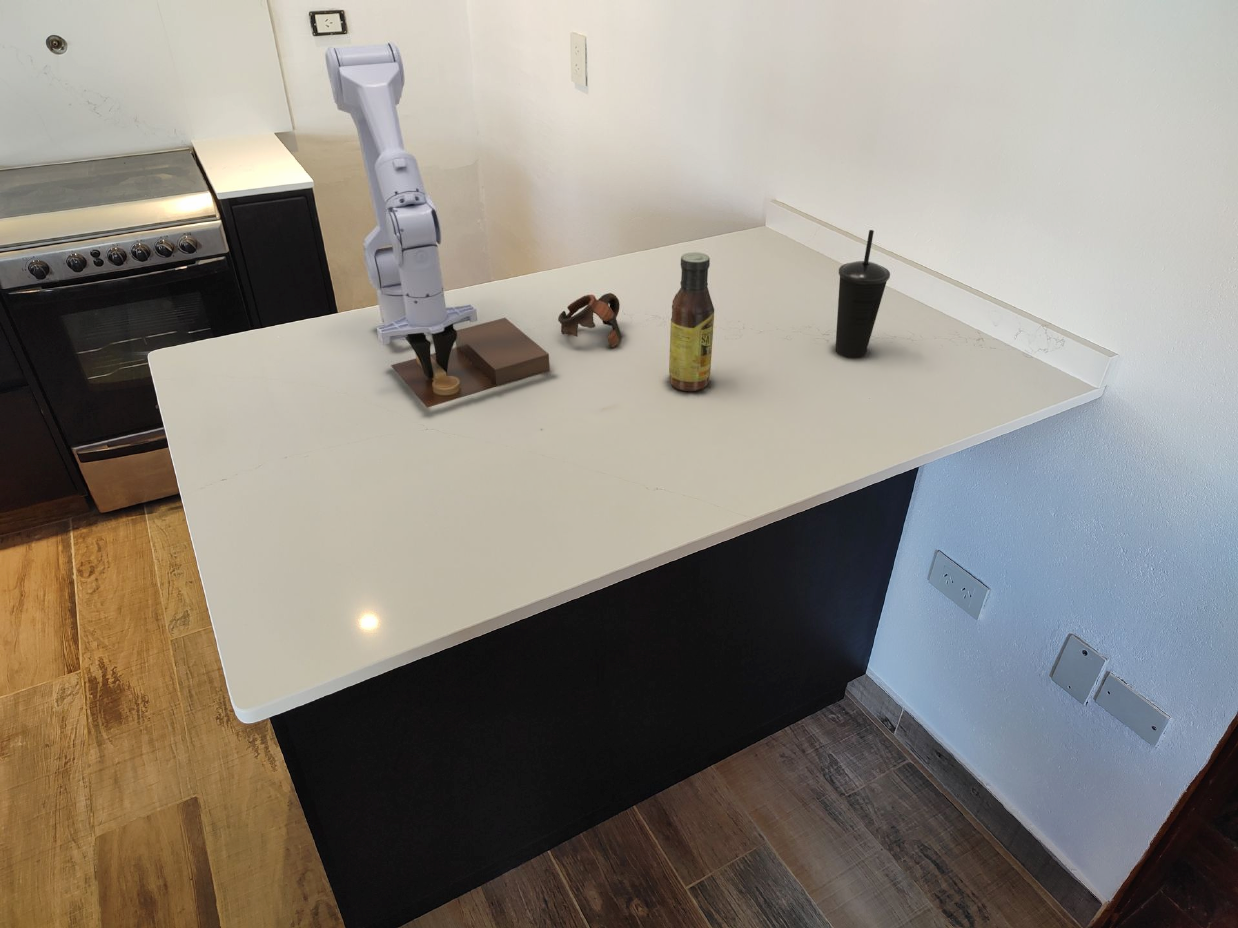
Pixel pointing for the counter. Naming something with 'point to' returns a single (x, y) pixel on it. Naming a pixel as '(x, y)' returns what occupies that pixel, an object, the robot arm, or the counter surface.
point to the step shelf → (480, 361)
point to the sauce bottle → (691, 326)
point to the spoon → (442, 380)
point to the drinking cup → (858, 303)
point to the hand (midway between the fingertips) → (435, 373)
